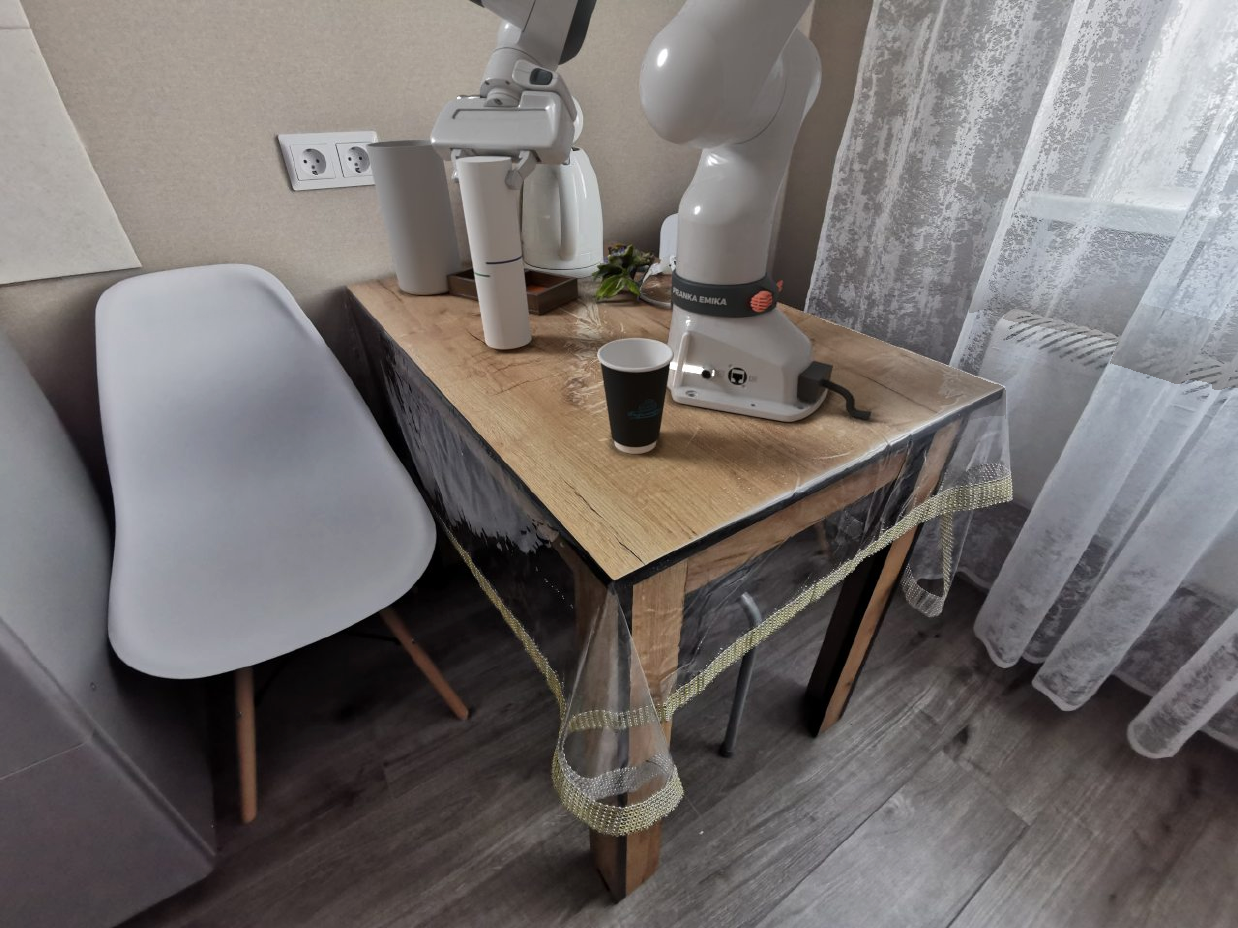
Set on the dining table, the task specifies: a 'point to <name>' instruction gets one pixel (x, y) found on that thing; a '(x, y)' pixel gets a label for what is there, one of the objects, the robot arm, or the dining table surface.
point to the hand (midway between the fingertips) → (484, 186)
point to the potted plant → (621, 271)
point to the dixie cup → (635, 390)
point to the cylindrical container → (495, 249)
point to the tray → (540, 288)
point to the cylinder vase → (416, 213)
